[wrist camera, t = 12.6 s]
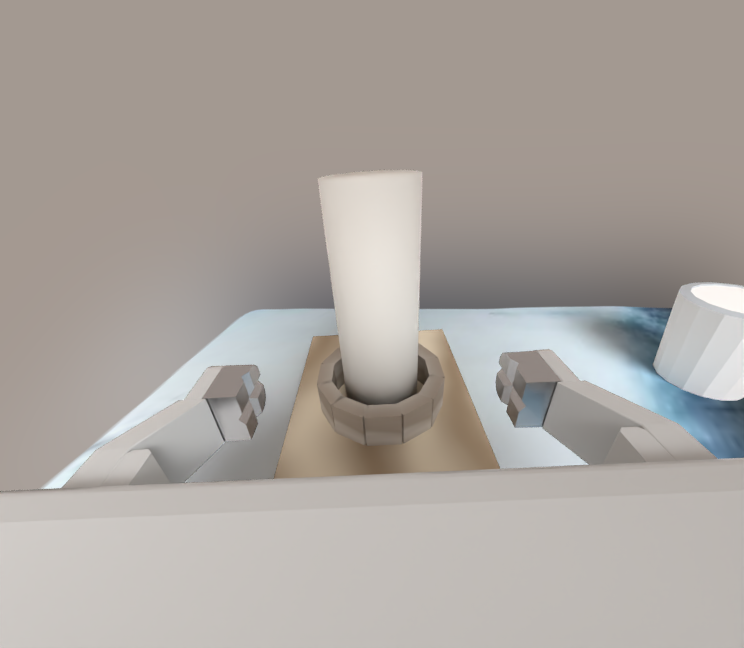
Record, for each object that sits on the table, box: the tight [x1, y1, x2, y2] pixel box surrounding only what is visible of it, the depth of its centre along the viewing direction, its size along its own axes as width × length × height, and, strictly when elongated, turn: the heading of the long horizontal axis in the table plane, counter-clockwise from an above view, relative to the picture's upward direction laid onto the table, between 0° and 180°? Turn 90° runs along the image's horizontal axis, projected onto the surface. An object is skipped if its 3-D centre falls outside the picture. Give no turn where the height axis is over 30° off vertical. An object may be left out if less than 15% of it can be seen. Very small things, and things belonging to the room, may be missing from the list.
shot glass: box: [653, 282, 744, 400], centre depth 23 cm, size 7×7×7 cm
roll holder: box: [274, 329, 500, 479], centre depth 23 cm, size 13×18×4 cm
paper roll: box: [318, 170, 422, 405], centre depth 19 cm, size 5×5×15 cm
